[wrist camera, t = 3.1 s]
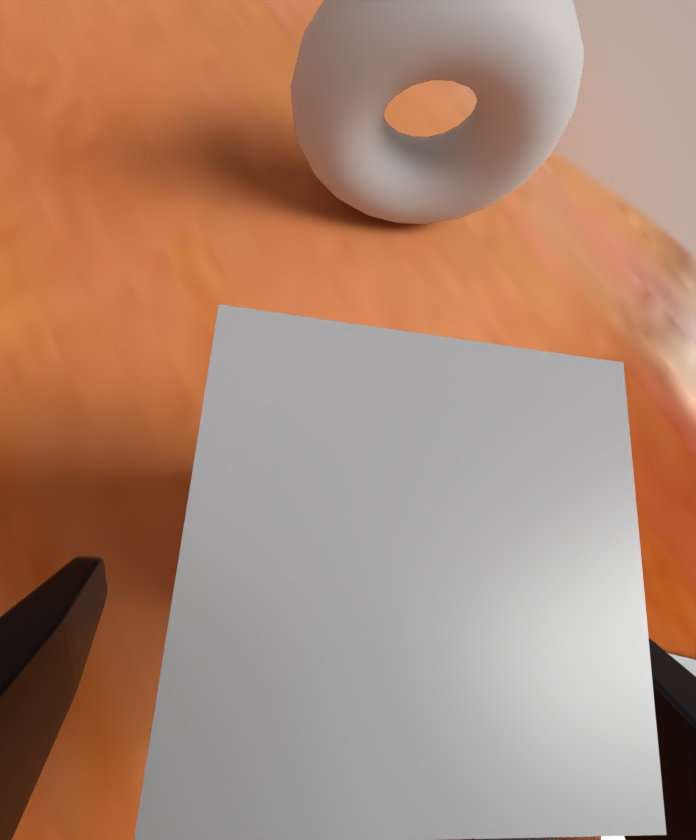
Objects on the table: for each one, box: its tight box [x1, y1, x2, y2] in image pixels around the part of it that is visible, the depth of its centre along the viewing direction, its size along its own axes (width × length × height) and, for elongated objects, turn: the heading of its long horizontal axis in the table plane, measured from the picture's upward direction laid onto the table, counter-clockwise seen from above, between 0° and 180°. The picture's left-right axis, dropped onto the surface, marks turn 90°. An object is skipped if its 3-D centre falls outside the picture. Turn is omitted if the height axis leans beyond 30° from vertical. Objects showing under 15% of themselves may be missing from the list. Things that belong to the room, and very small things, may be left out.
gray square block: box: [134, 304, 667, 840], centre depth 11 cm, size 5×5×13 cm
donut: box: [290, 0, 584, 224], centre depth 17 cm, size 10×4×10 cm, turn 89°
